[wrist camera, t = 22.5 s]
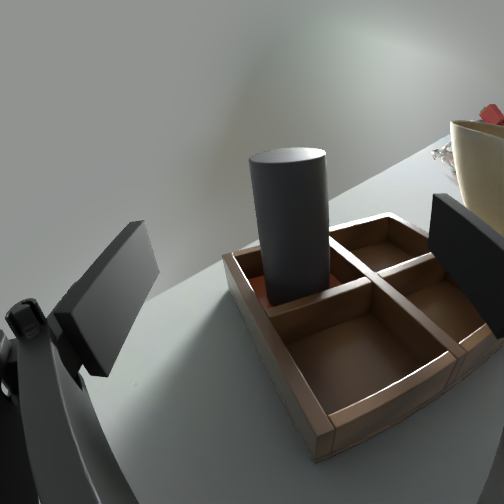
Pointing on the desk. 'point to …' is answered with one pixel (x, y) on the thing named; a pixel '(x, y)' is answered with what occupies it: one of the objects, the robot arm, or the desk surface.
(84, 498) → the robot arm
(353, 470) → the desk surface
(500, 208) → the beige bowl
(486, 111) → the toy blocks
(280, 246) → the dark grey cylinder
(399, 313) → the grid
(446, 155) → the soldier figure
